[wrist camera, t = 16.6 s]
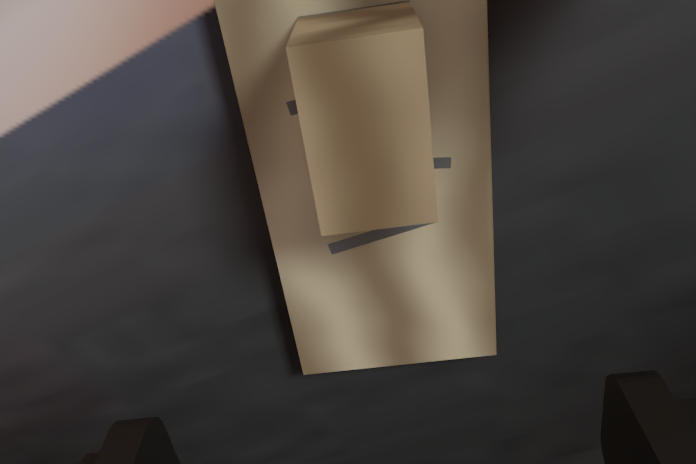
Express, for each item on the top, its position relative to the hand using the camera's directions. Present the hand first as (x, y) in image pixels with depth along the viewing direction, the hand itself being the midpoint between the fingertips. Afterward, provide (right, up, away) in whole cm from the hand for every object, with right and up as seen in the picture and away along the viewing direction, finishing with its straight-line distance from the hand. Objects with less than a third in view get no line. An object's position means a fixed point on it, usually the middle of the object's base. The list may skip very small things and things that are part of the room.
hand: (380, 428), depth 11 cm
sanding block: (0, +10, +18) cm, 21 cm away
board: (+1, +7, +22) cm, 23 cm away
